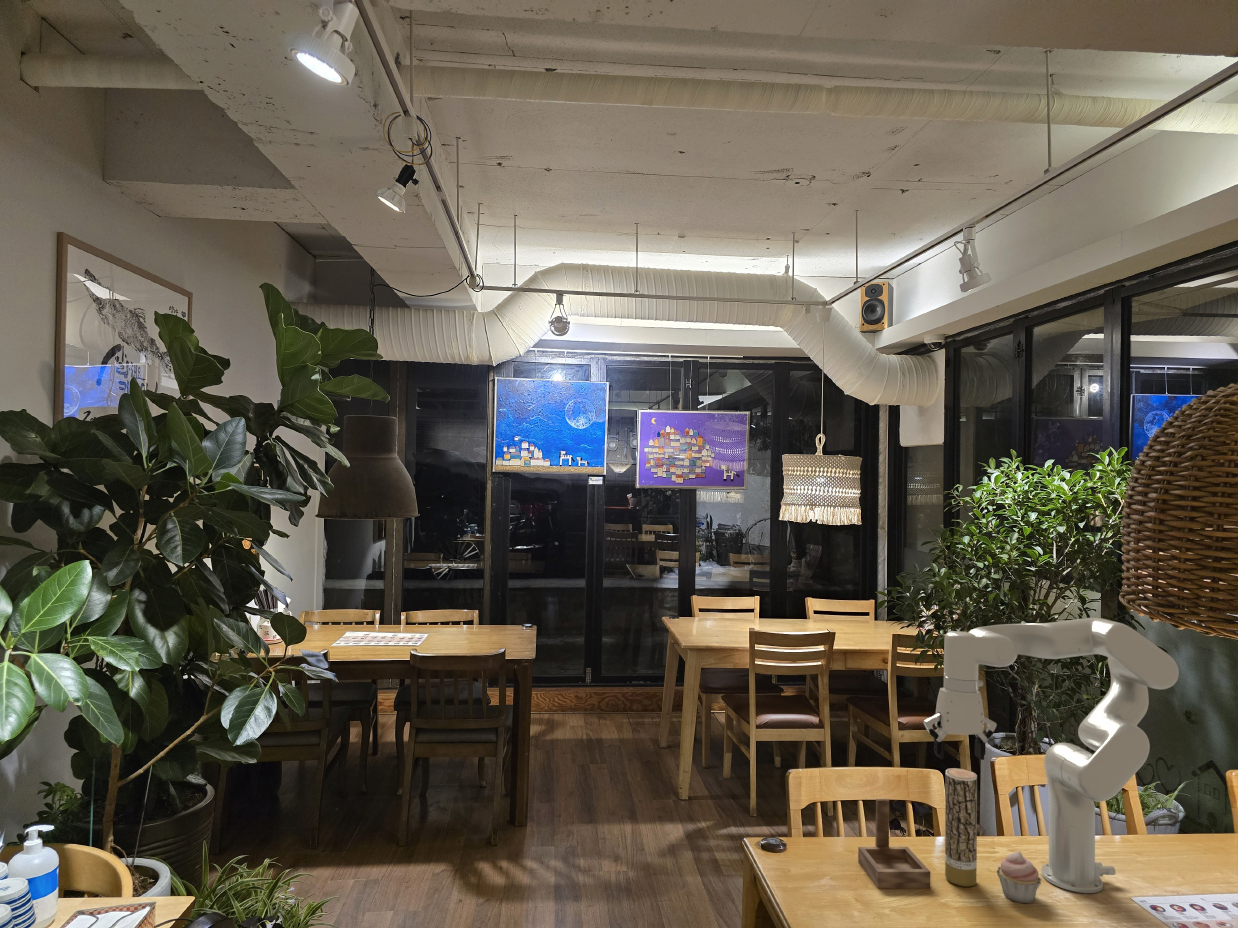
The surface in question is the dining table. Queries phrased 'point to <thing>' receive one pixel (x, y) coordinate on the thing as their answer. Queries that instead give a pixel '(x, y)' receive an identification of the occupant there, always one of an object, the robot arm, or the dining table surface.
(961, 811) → the paper tube
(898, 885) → the holder
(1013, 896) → the cupcake
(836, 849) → the dining table surface
